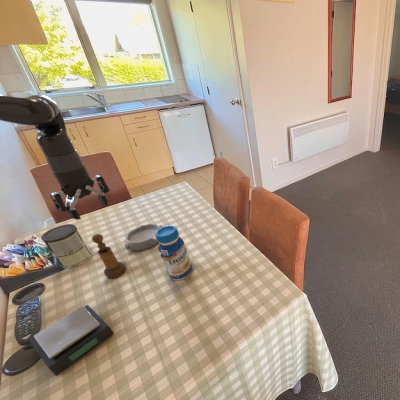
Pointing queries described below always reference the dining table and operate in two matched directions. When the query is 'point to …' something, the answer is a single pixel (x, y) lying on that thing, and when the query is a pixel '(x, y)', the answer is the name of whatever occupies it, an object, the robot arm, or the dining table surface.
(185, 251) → the beverage bottle
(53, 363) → the scale
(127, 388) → the dining table surface
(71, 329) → the scale pan
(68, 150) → the robot arm
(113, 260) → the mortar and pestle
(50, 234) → the coffee can
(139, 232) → the dish
